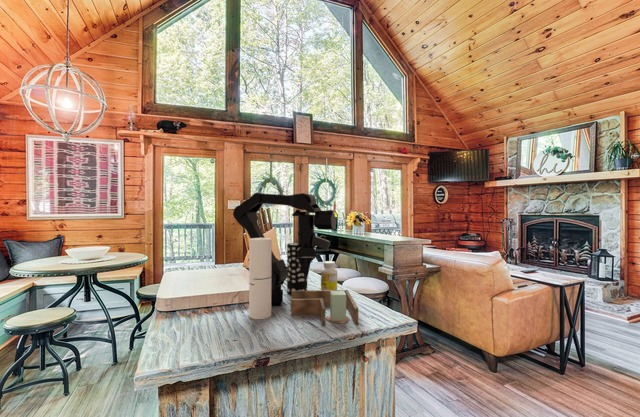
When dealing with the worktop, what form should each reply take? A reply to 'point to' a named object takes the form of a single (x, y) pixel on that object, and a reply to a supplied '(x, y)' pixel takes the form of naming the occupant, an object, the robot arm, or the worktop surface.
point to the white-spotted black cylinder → (294, 271)
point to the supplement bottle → (329, 276)
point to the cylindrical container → (260, 278)
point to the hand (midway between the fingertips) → (305, 273)
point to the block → (338, 305)
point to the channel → (320, 304)
